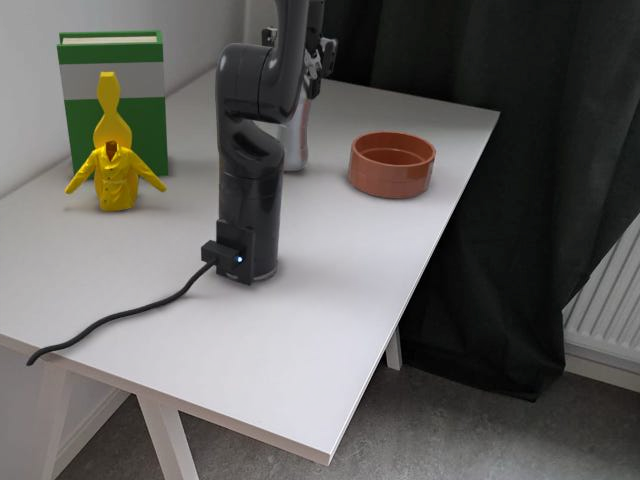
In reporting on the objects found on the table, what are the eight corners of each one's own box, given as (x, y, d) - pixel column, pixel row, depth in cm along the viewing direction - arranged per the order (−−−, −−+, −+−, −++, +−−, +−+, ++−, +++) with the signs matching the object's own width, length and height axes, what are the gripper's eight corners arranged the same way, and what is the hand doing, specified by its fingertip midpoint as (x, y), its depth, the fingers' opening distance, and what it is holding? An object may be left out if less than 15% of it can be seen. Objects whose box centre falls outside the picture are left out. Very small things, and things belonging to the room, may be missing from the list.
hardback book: (74, 179, 135) (56, 46, 120) (76, 161, 141) (59, 32, 125) (168, 175, 137) (162, 43, 121) (166, 158, 142) (160, 30, 127)
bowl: (424, 205, 129) (432, 171, 125) (341, 192, 132) (345, 159, 128) (432, 169, 140) (439, 137, 136) (354, 158, 143) (359, 126, 139)
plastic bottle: (304, 177, 136) (315, 69, 123) (269, 173, 137) (276, 66, 124) (308, 162, 141) (319, 57, 128) (274, 158, 142) (281, 54, 129)
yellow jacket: (65, 214, 125) (46, 87, 111) (70, 193, 131) (52, 70, 117) (168, 212, 126) (162, 86, 112) (168, 191, 132) (162, 68, 118)
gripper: (253, -8, 120) (250, 92, 130) (331, 6, 114) (321, 109, 125) (275, -18, 124) (270, 80, 135) (351, -5, 119) (340, 96, 130)
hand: (295, 94), depth 130 cm, fingers closed on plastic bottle, 6 cm apart
